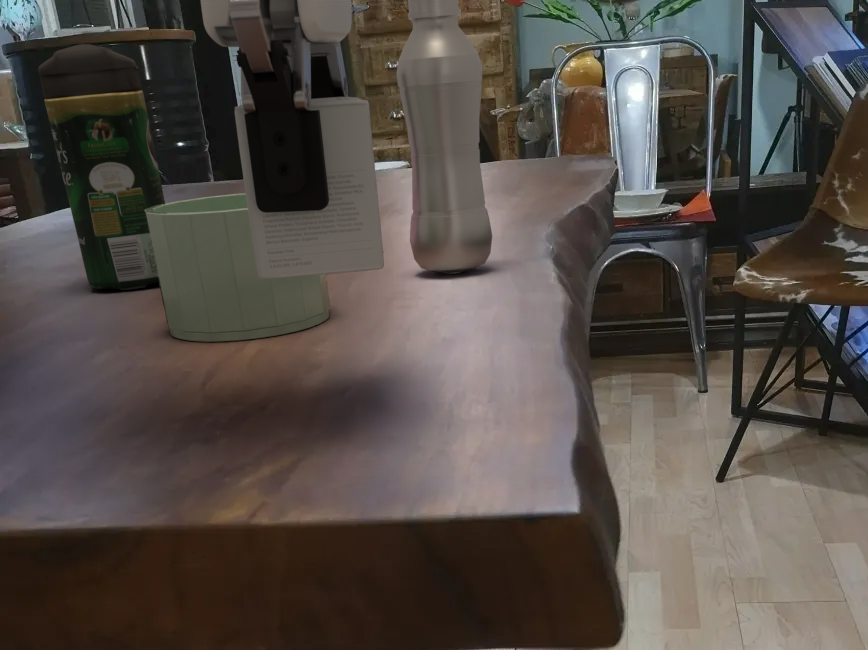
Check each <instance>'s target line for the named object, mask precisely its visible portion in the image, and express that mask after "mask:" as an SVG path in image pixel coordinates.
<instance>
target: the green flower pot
mask: <svg viewBox="0 0 868 650" xmlns="http://www.w3.org/2000/svg"><path fill="white" fill-rule="evenodd" d="M144 212H145V217H146V221H147V226H148V231H149V236H150V241H151V246H152V251H153V256H154V261H155V266H156V271H157V276H158V281H159V282H158V285H159V290H160V295H161V300H162V305H163V310H164V314H165V315H164V316H165V319H166V323H167V325H168V331H169V334H170V335H171V337H173V338H175V339H179V340H184V341H189V342H202V343H203V342H205V343H208V342H209V343H215V342H218V343H219V342H237V341H238V342H239V341H248V340H256V339H264V338H271V337H276V336H282V335H287V334H292V333H296V332H299V331H303V330H307V329H310V328H313V327H316V326H318V325H320V324H322V323H324V322H326V321H327V320H328V319H329V318H330V316H331V312H330V307H331V302H330V295H329V286H328V280H327V274H324V275H311V276H299V277H288V278H274V279H261V278H259V276H258V273H257V268H256V262H255V256H254V250H253V243H252V236H251V229H250V222H249V215H248V207H247V200H246V193H245V192H241V193H230V194H220V195H212V196H203V197H197V198H189V199H182V200H176V201H171V202H165V204H161V205H156V206H153V207H150V208H148V209H145V210H144ZM315 325H316V326H315Z"/></svg>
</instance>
